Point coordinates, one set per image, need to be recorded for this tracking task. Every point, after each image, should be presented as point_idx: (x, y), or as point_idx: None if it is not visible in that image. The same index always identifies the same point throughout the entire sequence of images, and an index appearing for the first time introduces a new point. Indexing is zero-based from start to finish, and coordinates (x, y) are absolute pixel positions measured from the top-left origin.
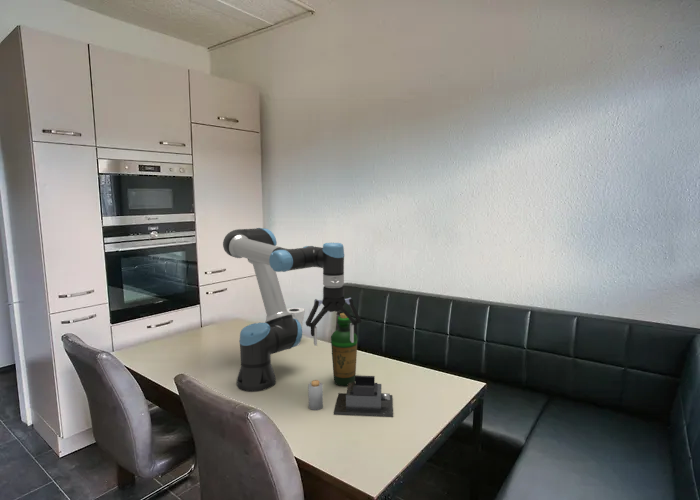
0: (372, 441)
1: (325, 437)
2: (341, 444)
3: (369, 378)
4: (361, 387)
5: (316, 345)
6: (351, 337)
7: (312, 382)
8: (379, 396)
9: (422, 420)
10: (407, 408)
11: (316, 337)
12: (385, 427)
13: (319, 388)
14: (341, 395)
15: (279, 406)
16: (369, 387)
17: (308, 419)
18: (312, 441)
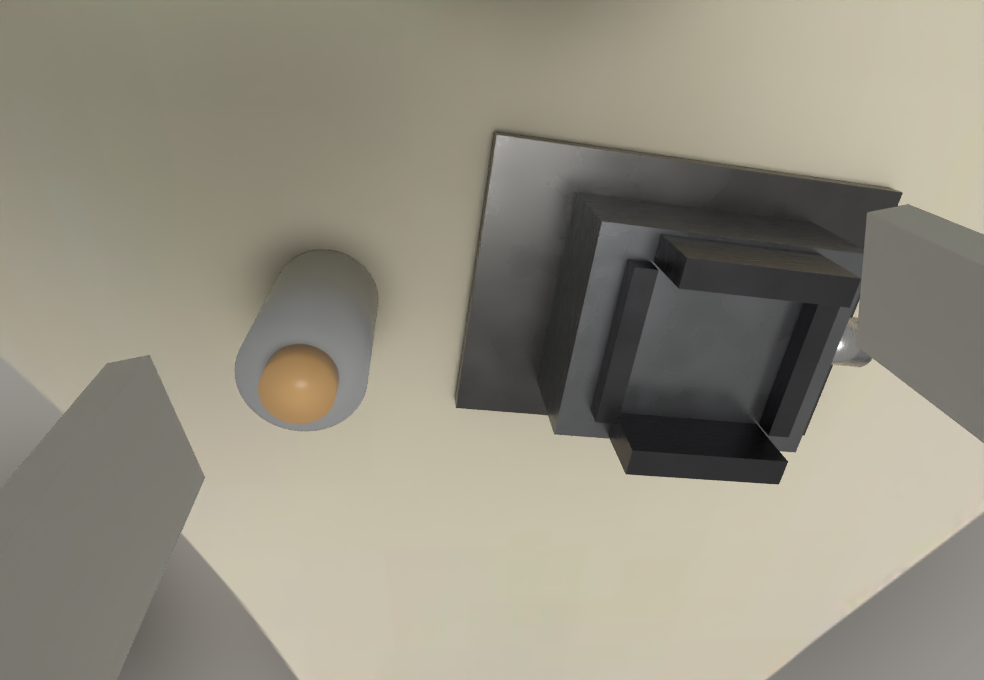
0: (632, 608)
1: (414, 589)
2: (490, 630)
3: (800, 297)
4: (688, 477)
5: (196, 478)
6: (922, 375)
7: (271, 407)
8: (785, 451)
9: (931, 456)
10: None
11: (143, 603)
12: (722, 514)
13: (345, 413)
14: (519, 181)
15: (44, 286)
16: (748, 481)
17: (301, 445)
18: (353, 616)
